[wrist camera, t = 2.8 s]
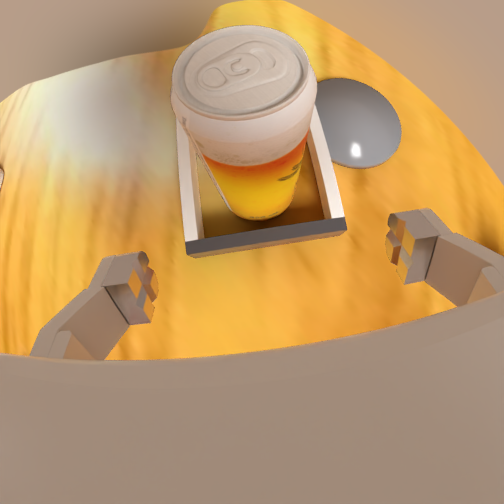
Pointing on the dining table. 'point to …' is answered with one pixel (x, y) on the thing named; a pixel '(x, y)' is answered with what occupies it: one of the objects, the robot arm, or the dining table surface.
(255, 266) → the dining table surface
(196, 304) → the dining table surface
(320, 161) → the channel
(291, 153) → the beer can
